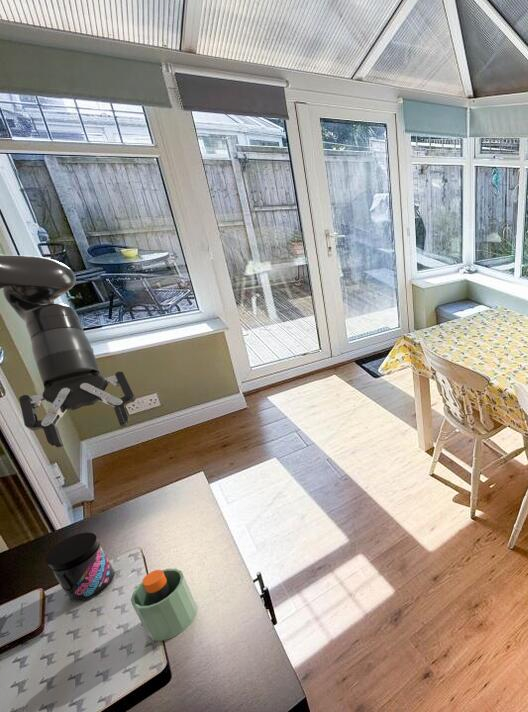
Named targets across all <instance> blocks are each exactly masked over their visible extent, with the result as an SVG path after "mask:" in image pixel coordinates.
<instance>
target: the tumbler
mask: <svg viewBox="0 0 528 712" xmlns="http://www.w3.org/2000/svg"><path fill="white" fill-rule="evenodd" d="M161 570H162V571H163V573H164V575H165V577H166V579H167V583H168V585H169V588H170V590H171V592H172V593H171V594H170V595H169V596H168V597H166V598H165V599H163V600H161V601H160V602H158V603H155V604H153V602H152V600H151V598H150V596H149V594H148V592H146V590H145V588H144V586H143V584H142V582H140V583H139V584H138V586H136V588H135V589H134V590H133V592H132V594H131V598H130V603H131V606H132V608H133V609H134V611H135V613H136V615H137V617H138V619H139V621H140V623H141V624H142V626H143V628H144V630H145V632H146V634H147V636H148V637H149V638H150V639H151V640H152V641H155V642H163V641H168V640H170V639H173V638H174V637H176V636H178V635H180V634H181V633H182V632H184V631H185V630H186V629H187V628H188V627H189V626H190V625H191V623H192V622H193V621H194V619H195V617H196V615H197V611H198V606H197V604H196V602H195V599H194V597H193V594H192V592H191V590H190V587H189V585H188V583H187V580H186V579H185V575H184V574H183V572H182V570H181V569H179V568H174V567H173V568H165V569H161Z"/></svg>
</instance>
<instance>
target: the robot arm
mask: <svg viewBox="0 0 528 712" xmlns="http://www.w3.org/2000/svg"><path fill="white" fill-rule="evenodd" d="M76 281H77V278H76V274H75V272H74V271H73V270H72V269H71V268H70V267H68V266H67V265H66V264H64V263H62V262H59V261H58V260H55V259H51V258H47V257H43V256H33V255H16V254H15V255H13V254H0V290H1V289H2V294H3V298H4V299H5V300H6V302H7V303H8V304H9V306H10V307H11V308H12V309H13V310H14V312H15V313H16V314H17V316H18V317H19V318H20V319H21V320H22V321H23V322H24V324H25V328H26V331H27V333H28V337H29V339H30V342H31V351H32V355H33V358H34V361H35V364H36V368H37V370H38V374H39V376H40V379H41V382H42V385H43V392H42V393H38V394H33V395H29V394H28V395H27V394H23V395H21V396H19V398H18V400H19V404H20V410H21V414H22V418H23V423H24V426H25V427H26V428H27V429H29V430H30V431H37V430H38V431H39V430H43V432H44V435H45V439H46V441H47V443H48V444H49V445H51V446H52V447H53V446H55V448H58V449H59V448H61V447H64V442H63V440H62V437H61V433H60V431H59V428H58V426H57V424H58V423H59V421H60V420H61V419H62V418H63V417H64V415H65V414H66V412H67V410H68V411H70V410H71V411H75V410H78V409H81V408H82V407H88V406H93V405H95V404H96V403H97V402H99V401H100V402H101V403H104V404H106V405H109V406H111V407H113V410H114V412H115V415H116V418H117V420H118V424H119V426H120V427H121V428H125V427H127V423H130V417H129V414H128V412H127V409H126V406H127V405H129V404H131V403H134V402H135V401H136V396H135V394H134V392H133V390H132V388H131V386H130V384H129V382H128V379H127V377H126V375H125V373H124V372H123V371H116V372H115V374H114V375H110V376H106V377H105V376H103V375H102V372H101V370H100V367H99V365H98V361H97V359H96V356H95V353H94V348H93V347H92V345H91V342H90V340H89V339H88V337H87V336H86V334H85V331H84V328H83V325H82V322H81V320H80V318H79V315H78V313H77V311H76V310H75V309H74V308H73V307H71V305H67V304H65V303H55V300H57V299H58V298H59V297H61V296H62V295H64V294H66V293H67V292H68V291H70V290H72V289H73V287H74V286H75V285H76ZM109 384H112V385H113V386H115V387H120V388H121V390H122V393H123V396H122V397H120V398H119V397H117V396H115V395H113V394H111V393H109V392H107V391H106V389H107V387H108V385H109ZM43 401H46V402H48V403H51V405H50V407H49V408H48V409H47V413H46V415H44V418H43V419H41V420H39V418H38V413H37V408H39V407H40V406H41V404H42V402H43Z"/></svg>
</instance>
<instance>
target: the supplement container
mask: <svg viewBox="0 0 528 712" xmlns="http://www.w3.org/2000/svg"><path fill="white" fill-rule="evenodd" d="M44 561H45V564H46V565H47V566H48V569H49V570H50V571H51V573H52V574H53V576H54V578H55V579H56V580H57V582H58V583H59V585H60V587H61V588H62V590H63V592H64V593H65V595H66V596H67V598H68V599H69V600H71V601H74V602H81V601H85V600H88V599H91V597H92V598H93V596H94V597H96V596H98V595H100V593H102V592H104V591H105V590H106V589H107V588H108V587H109V586H110V585H111V583H112V582H113V580H114V578H115V574H116V573H115V571H116V570H115V569H114V568H113V566H112V564H111V562H110V560H109V558H108V556H107V554H106V552H105V551H104V548H103V547H102V545H101V542H100V540H99V538H98V537H97V535H96V534H95V533H93V532H82V533H78V534H74V535H72V536H69V537H67V538H65V539H63V540H62V541H60V542H58V543H57V544H55V545H54V546H53V547H52V548H51V549H50V550H49V551H48V552H47V554H46V555H45V557H44ZM108 585H109V586H108ZM107 586H108V587H107ZM106 587H107V588H106ZM105 588H106V589H105ZM101 591H102V592H101ZM95 595H96V596H95Z"/></svg>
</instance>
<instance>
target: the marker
mask: <svg viewBox="0 0 528 712" xmlns="http://www.w3.org/2000/svg"><path fill="white" fill-rule="evenodd" d="M162 570H163V569H155V570H153V571H151V572H149V573H147V574H146V575H145V576H144V577H143V579H142V581H141V583H142V584H143V586H144V588H145V590H146V592H148V594H149V596H150V598H151V600H152V602H153V604H155V603H158V602H160V601H161V600H163V599H165V598H166V597H168V596H169V595H170V594H171V593H172V592H171V590H170V588H169V585H168V583H167V579H166V577H165V575H164V573H163V571H162Z"/></svg>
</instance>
